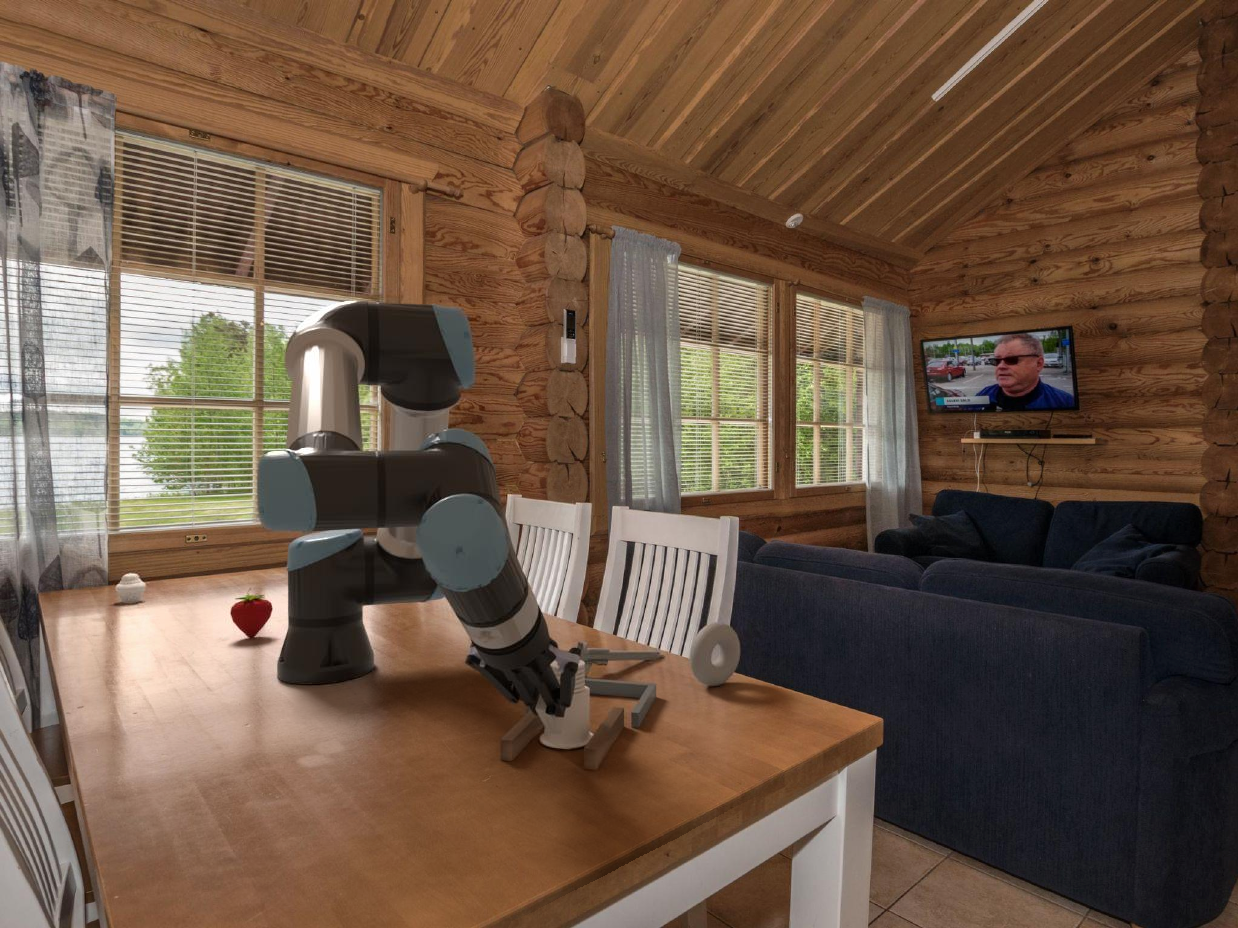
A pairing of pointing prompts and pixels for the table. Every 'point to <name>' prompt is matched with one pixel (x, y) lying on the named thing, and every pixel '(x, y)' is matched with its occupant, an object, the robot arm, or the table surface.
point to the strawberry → (251, 614)
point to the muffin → (130, 588)
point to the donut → (703, 654)
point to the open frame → (625, 695)
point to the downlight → (573, 715)
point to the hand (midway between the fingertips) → (557, 723)
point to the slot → (592, 751)
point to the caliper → (611, 656)
